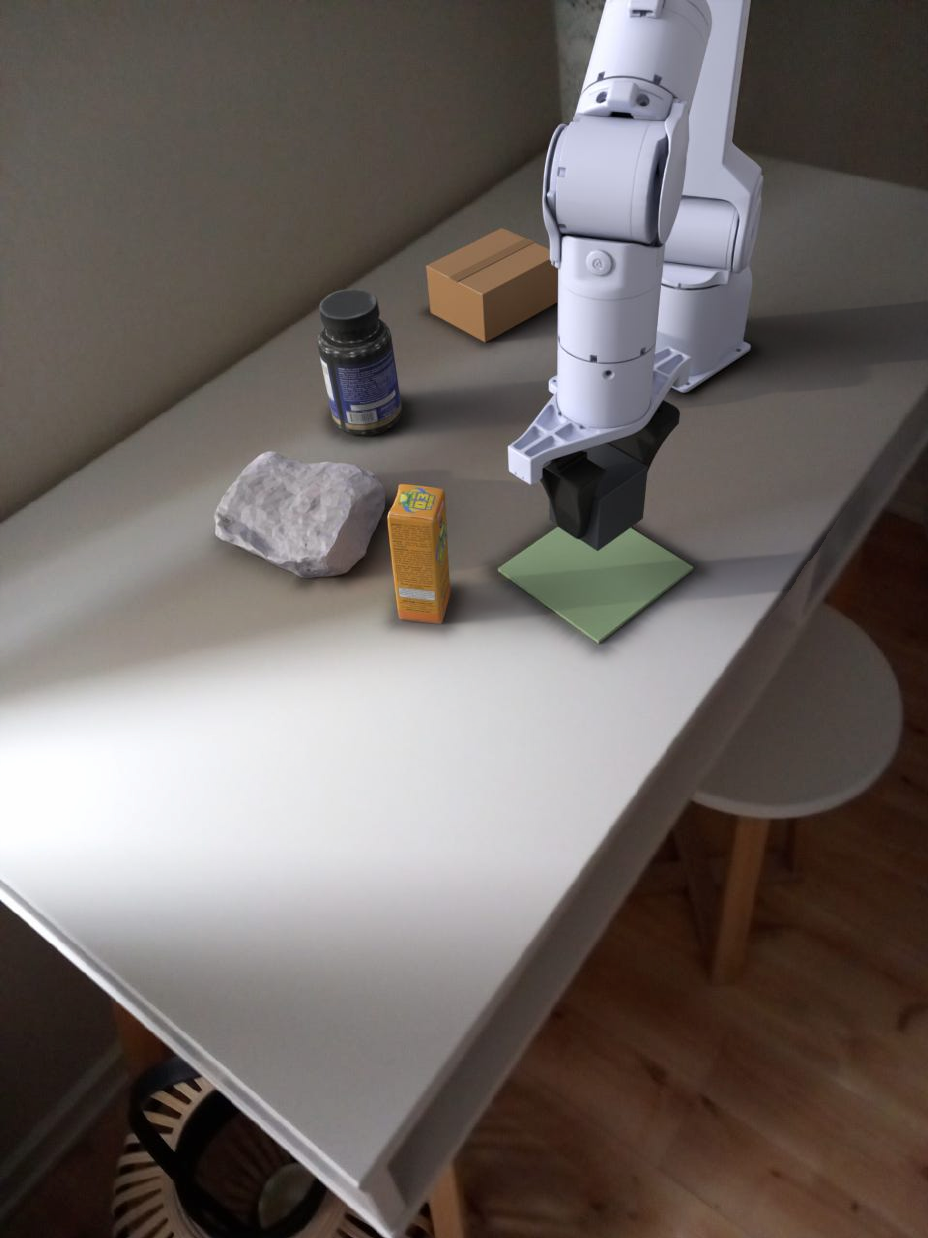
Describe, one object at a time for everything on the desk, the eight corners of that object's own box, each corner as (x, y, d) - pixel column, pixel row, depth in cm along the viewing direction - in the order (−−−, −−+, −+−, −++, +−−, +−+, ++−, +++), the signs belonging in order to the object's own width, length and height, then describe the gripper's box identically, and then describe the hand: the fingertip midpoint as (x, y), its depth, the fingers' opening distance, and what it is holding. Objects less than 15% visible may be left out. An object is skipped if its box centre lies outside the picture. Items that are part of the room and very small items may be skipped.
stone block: (351, 602, 73) (396, 498, 77) (333, 565, 69) (382, 458, 73) (214, 574, 76) (265, 476, 81) (189, 538, 72) (245, 437, 77)
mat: (591, 505, 76) (591, 503, 75) (693, 569, 70) (693, 566, 70) (497, 571, 71) (497, 568, 71) (598, 644, 66) (598, 641, 66)
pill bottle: (416, 408, 86) (402, 293, 77) (375, 446, 82) (356, 331, 74) (360, 389, 88) (341, 276, 80) (318, 426, 85) (294, 312, 77)
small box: (594, 488, 69) (596, 436, 66) (643, 518, 67) (648, 466, 64) (548, 519, 67) (548, 467, 64) (597, 552, 65) (600, 499, 62)
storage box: (504, 273, 100) (502, 226, 97) (559, 301, 96) (560, 252, 92) (430, 312, 96) (425, 265, 92) (484, 343, 92) (482, 294, 88)
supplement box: (445, 626, 68) (433, 520, 61) (398, 621, 69) (380, 515, 61) (455, 592, 70) (445, 485, 63) (409, 587, 71) (393, 481, 64)
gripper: (637, 266, 62) (624, 439, 72) (468, 361, 56) (480, 535, 66) (727, 305, 58) (700, 482, 68) (556, 412, 52) (555, 588, 62)
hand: (597, 511), depth 67 cm, fingers closed on small box, 4 cm apart
